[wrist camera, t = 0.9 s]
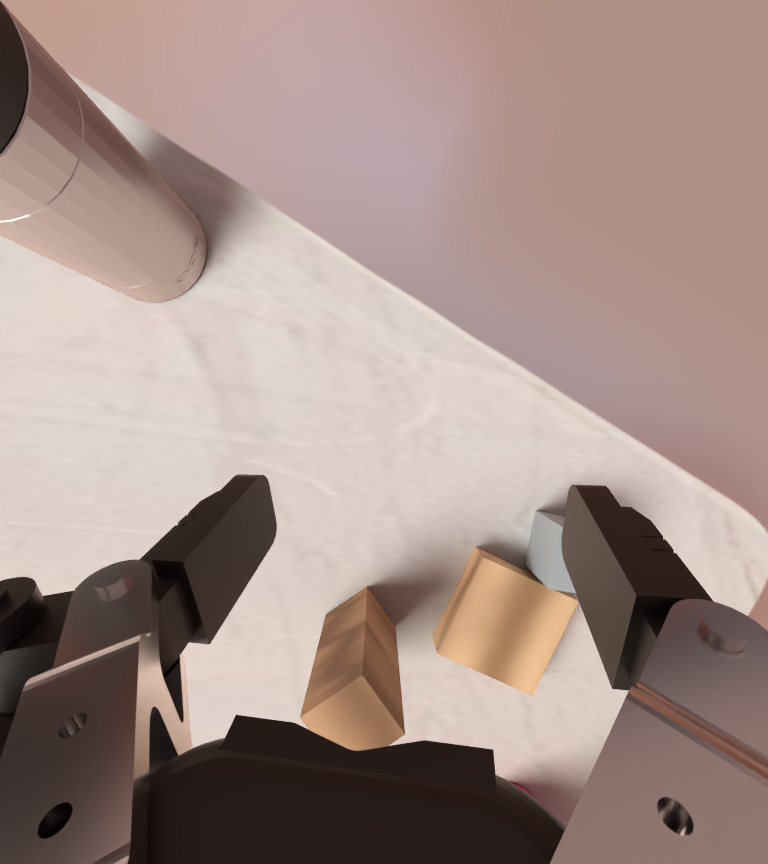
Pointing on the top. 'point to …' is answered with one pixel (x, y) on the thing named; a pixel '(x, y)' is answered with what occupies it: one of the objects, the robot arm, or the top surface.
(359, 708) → the walnut pillar
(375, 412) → the top surface
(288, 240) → the top surface
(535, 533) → the slate block
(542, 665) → the oak base
